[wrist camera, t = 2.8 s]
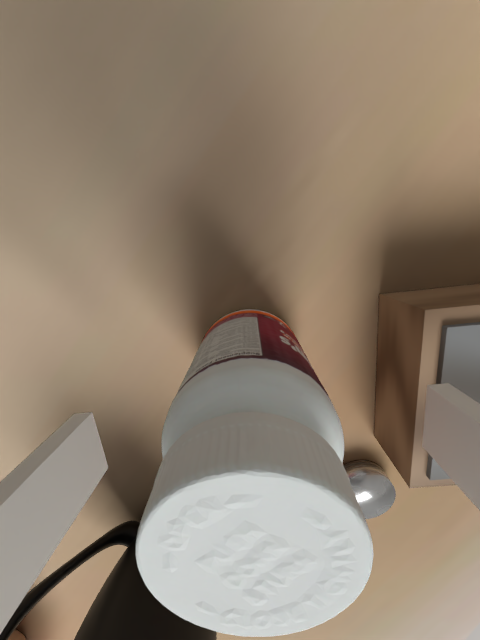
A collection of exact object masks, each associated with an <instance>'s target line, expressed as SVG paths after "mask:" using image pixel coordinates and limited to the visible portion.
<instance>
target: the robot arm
mask: <svg viewBox="0 0 480 640" xmlns="http://www.w3.org/2000/svg"><path fill="white" fill-rule="evenodd" d="M422 447H423V448H424V449H425V450H426V451H427V452H428V453H429V455H430V456H431V457H432V458H433V459H434V460H435V461H436V462H437V463H438V465H439V466H440V467H441V468H442V469H443V470H444V471H445V472H446V473H447V475H448V476H449V477H450V478H451V479H452V480H453V481H454V482H455V483H456V485H457V486H458V487H459V488H460V489H461V490H462V491H463V492H464V494H465V495H466V496H467V497H468V498H469V499H470V500H471V501H472V502H473V504H474V505H475V506H476V507H477V508H478V509H479V510H480V404H479V403H478V402H476V401H475V400H473V399H472V398H470V397H469V396H467V395H466V394H464V393H463V392H461V391H460V390H458V389H456V388H455V387H453V386H452V385H450V384H449V383H445V384H433V385H427V394H426V406H425V418H424V430H423V443H422ZM108 468H109V467H108V464H107V461H106V457H105V454H104V450H103V447H102V444H101V440H100V437H99V433H98V430H97V427H96V423H95V420H94V416H93V413H92V412H87V413H75V414H73V415H72V416H71V417H70V418H69V419H68V420H67V421H66V422H65V423H63V424H62V425H61V426H60V427H59V428H58V429H57V430H56V431H55V432H54V433H53V434H52V435H51V436H49V437H48V438H47V439H46V440H45V441H44V442H43V443H42V444H41V445H40V446H39V447H38V448H36V449H35V450H34V451H33V452H32V453H31V454H30V455H29V456H28V457H27V458H26V459H25V460H24V461H22V462H21V463H20V464H19V465H18V466H17V467H16V468H15V469H14V470H13V471H12V472H11V473H9V474H8V475H7V476H6V477H5V478H4V479H3V480H2V481H1V482H0V634H1V632H2V631H3V629H4V628H5V626H6V625H7V623H8V622H9V620H10V618H11V617H12V615H13V614H14V612H15V611H16V609H17V608H18V606H19V605H20V603H21V602H22V600H23V598H24V597H25V595H26V594H27V592H28V591H29V589H30V588H31V586H32V585H33V583H34V582H35V580H36V578H37V577H38V575H39V574H40V572H41V571H42V569H43V568H44V566H45V565H46V563H47V562H48V560H49V558H50V557H51V555H52V554H53V552H54V551H55V549H56V548H57V546H58V545H59V543H60V541H61V540H62V538H63V537H64V535H65V534H66V532H67V531H68V529H69V528H70V526H71V525H72V523H73V521H74V520H75V518H76V517H77V515H78V514H79V512H80V511H81V509H82V508H83V506H84V505H85V503H86V501H87V500H88V498H89V497H90V495H91V494H92V492H93V491H94V489H95V488H96V486H97V485H98V483H99V481H100V480H101V478H102V477H103V475H104V474H105V472H106V471H107V469H108Z"/></svg>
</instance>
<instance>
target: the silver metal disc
mask: <svg viewBox="0 0 480 640" xmlns="http://www.w3.org/2000/svg"><path fill="white" fill-rule="evenodd" d="M343 466H344V468H345V470H346V473H347V475H348V477H349V480H350V483H351V487H352V489H353V492H354V494H355V496H356V499H357V501H358V503H359V505H360V508H361V510H362V512H363V515H364V517H365V519H370V518H374V517H377V516H379V515H381V514H383V513H385V512H386V511H387V510H388V509H389V508H390V507H391V506H392V505H393V503H394V500H395V496H396V493H395V489H394V486H393V485H392V483H391V482H390V480H389V478H388V477H387V475H386V473H385V472H384V470H383V469H382V468H381V467H380V466H379V465H378V464H376V463H374V462H371V461H367V460H357V461H352V462H349V463H346V464H344V465H343Z"/></svg>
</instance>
